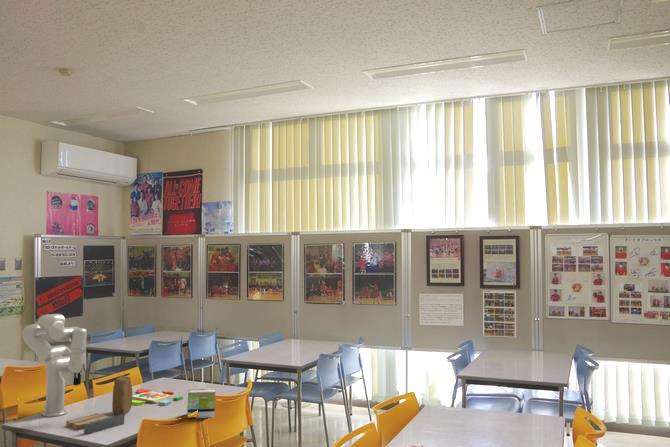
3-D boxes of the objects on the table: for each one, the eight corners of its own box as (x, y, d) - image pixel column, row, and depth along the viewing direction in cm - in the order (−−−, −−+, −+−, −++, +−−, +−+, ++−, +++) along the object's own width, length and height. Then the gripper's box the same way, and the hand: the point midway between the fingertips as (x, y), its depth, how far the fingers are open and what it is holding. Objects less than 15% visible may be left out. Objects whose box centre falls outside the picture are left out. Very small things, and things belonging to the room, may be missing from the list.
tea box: (187, 419, 302) (188, 392, 303) (187, 414, 312) (188, 388, 313) (214, 417, 306) (215, 391, 307) (213, 412, 316) (214, 387, 317)
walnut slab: (66, 426, 287) (66, 421, 287) (97, 418, 302) (97, 413, 302) (79, 431, 280) (79, 425, 281) (110, 422, 295) (110, 417, 296)
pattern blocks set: (192, 395, 356) (192, 390, 356) (163, 408, 324) (164, 403, 324) (141, 390, 366) (141, 386, 366) (108, 403, 333) (109, 398, 334)
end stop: (83, 433, 275) (84, 423, 276) (121, 422, 294) (121, 413, 294) (86, 434, 274) (87, 424, 274) (124, 423, 292) (124, 414, 293)
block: (121, 415, 307) (123, 379, 309) (110, 414, 309) (112, 378, 311) (133, 410, 318) (135, 375, 319) (122, 409, 320) (124, 375, 321)
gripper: (64, 350, 301) (62, 384, 300) (80, 353, 293) (78, 388, 292) (76, 348, 307) (75, 381, 306) (92, 351, 299) (91, 385, 298)
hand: (76, 384), depth 299 cm, fingers closed
